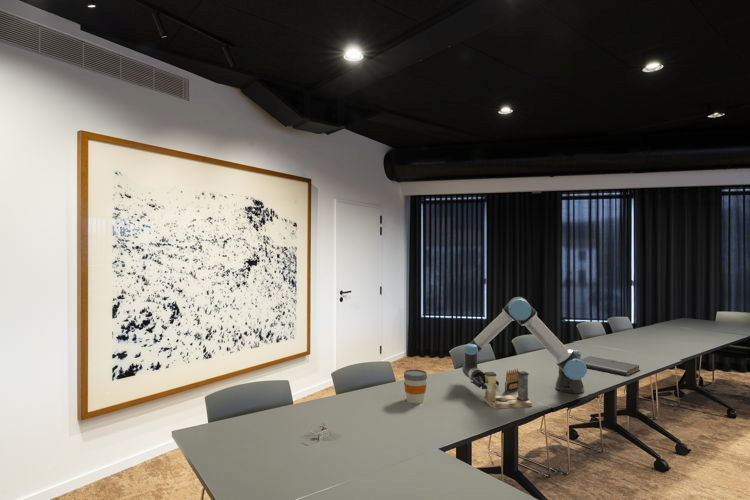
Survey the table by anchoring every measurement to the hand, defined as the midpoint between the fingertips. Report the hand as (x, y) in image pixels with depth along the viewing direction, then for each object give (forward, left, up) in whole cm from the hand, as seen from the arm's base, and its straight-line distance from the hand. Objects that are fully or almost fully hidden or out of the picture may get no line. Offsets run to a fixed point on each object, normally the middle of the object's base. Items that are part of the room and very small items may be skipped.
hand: (494, 389), depth 215 cm
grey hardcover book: (-110, -62, -10) cm, 127 cm away
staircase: (+90, +23, -10) cm, 93 cm away
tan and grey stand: (-10, -5, -9) cm, 15 cm away
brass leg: (0, -5, -7) cm, 9 cm away
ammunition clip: (-22, -25, -10) cm, 35 cm away
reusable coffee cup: (+38, -16, -10) cm, 42 cm away
